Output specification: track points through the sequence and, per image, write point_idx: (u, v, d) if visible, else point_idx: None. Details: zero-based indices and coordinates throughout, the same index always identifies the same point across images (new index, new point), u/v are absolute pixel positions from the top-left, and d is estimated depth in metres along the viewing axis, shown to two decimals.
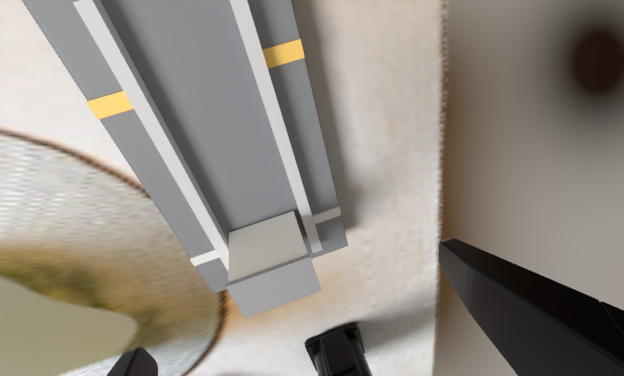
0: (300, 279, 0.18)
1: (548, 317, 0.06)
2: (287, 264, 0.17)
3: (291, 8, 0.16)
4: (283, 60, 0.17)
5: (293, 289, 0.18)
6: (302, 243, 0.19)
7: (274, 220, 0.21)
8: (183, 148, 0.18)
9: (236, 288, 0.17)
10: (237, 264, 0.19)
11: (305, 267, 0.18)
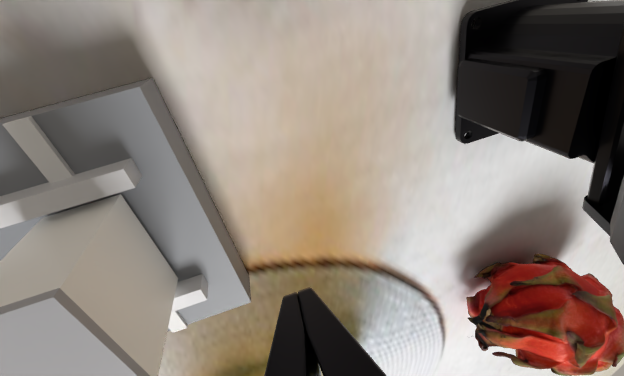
0: (12, 344, 0.07)
1: None
2: None
3: None
4: None
5: (55, 349, 0.08)
6: None
7: None
8: None
9: None
10: None
11: None
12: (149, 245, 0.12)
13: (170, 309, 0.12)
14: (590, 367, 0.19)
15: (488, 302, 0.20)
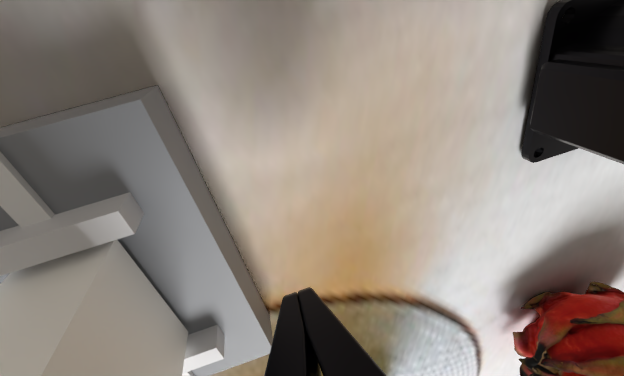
0: None
1: None
2: None
3: None
4: None
5: None
6: None
7: None
8: None
9: None
10: None
11: None
12: (153, 299, 0.10)
13: None
14: None
15: (544, 342, 0.18)
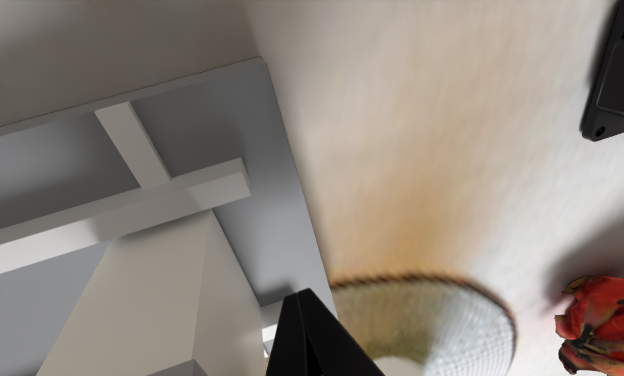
0: None
1: None
2: None
3: None
4: None
5: None
6: (48, 360, 0.06)
7: None
8: None
9: None
10: None
11: None
12: (237, 269, 0.10)
13: (262, 348, 0.10)
14: None
15: (591, 323, 0.18)
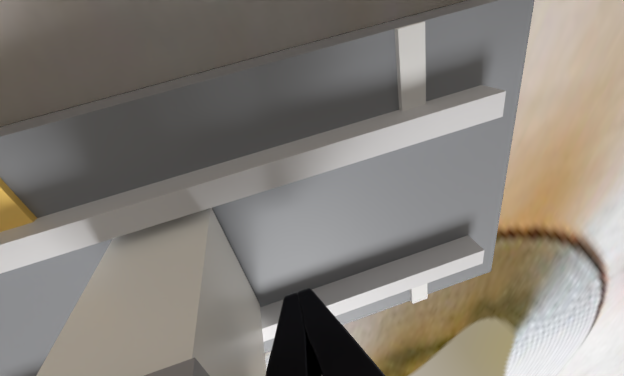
0: None
1: None
2: None
3: None
4: None
5: None
6: (49, 360, 0.06)
7: None
8: None
9: None
10: None
11: None
12: (237, 268, 0.10)
13: (263, 347, 0.10)
14: None
15: None
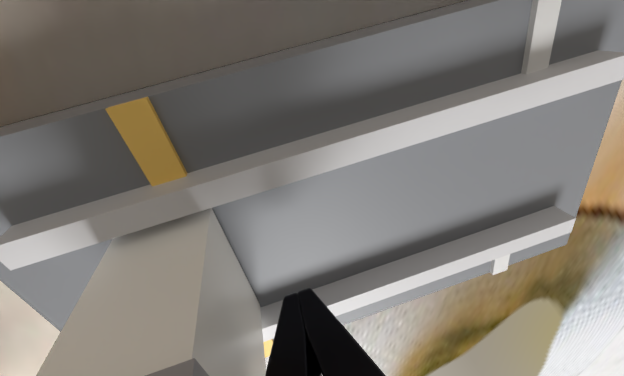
0: None
1: None
2: None
3: (48, 126, 0.07)
4: (163, 145, 0.08)
5: None
6: (49, 360, 0.06)
7: None
8: (324, 280, 0.12)
9: None
10: None
11: None
12: (238, 268, 0.10)
13: (263, 348, 0.10)
14: None
15: None
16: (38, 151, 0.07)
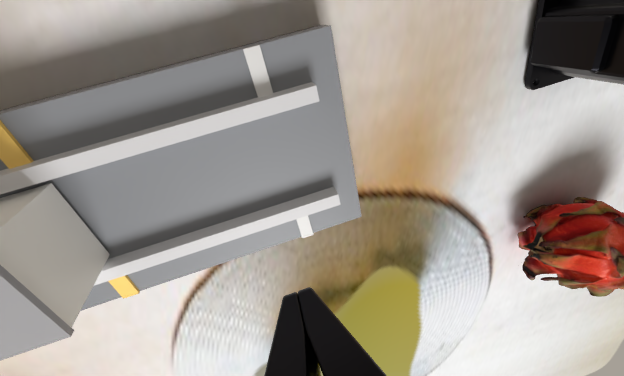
0: None
1: None
2: None
3: None
4: (10, 143, 0.13)
5: None
6: None
7: None
8: (161, 238, 0.18)
9: None
10: None
11: None
12: (79, 225, 0.15)
13: (96, 277, 0.15)
14: None
15: (540, 231, 0.25)
16: None
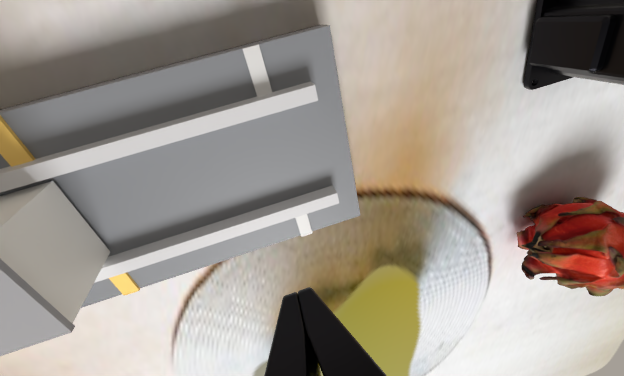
0: None
1: None
2: None
3: None
4: (13, 141, 0.13)
5: None
6: None
7: None
8: (161, 236, 0.18)
9: None
10: None
11: None
12: (80, 222, 0.16)
13: (96, 274, 0.16)
14: None
15: (539, 230, 0.25)
16: None
